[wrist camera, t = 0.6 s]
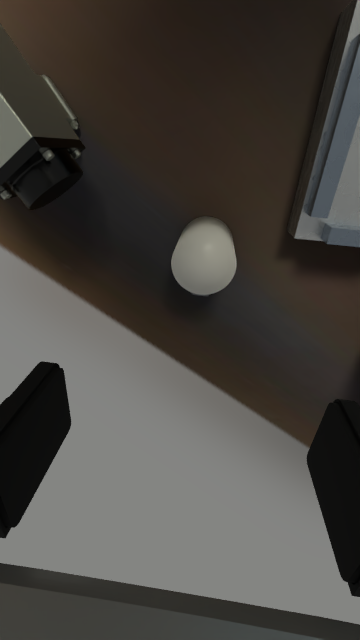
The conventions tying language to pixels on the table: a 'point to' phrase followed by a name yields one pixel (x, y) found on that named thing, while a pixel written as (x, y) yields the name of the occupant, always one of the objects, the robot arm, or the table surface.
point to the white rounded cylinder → (204, 256)
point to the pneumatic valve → (34, 133)
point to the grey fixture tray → (334, 147)
